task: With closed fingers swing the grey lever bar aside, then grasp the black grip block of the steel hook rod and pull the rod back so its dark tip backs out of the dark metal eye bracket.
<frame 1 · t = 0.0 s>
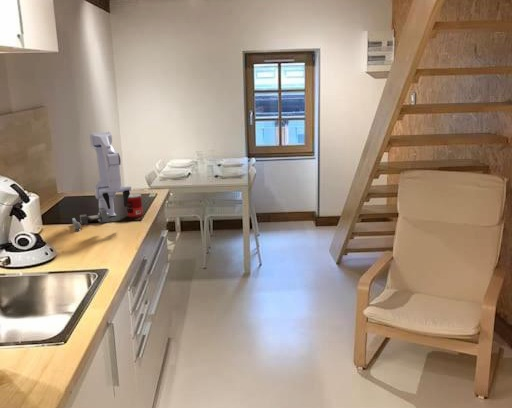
hand: (117, 207, 248), 10 cm above the worktop, fingers open, 7 cm apart
canned food: (135, 216, 272), on the worktop
eye bracket: (103, 221, 263), on the worktop
keeper base: (78, 230, 248), on the worktop
grey lever bar: (75, 223, 253), point 2 cm above the worktop, hinge at 0.0°
hook rod: (95, 217, 261), point 2 cm above the worktop, slide at 0.0 cm
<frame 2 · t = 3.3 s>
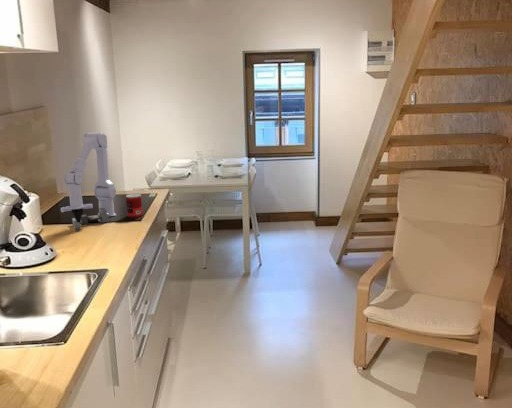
hand: (78, 224, 253), 1 cm above the worktop, fingers closed, pressing on grey lever bar
grey lever bar: (75, 223, 253), point 2 cm above the worktop, hinge at 0.3°, touching gripper
everything else where it was.
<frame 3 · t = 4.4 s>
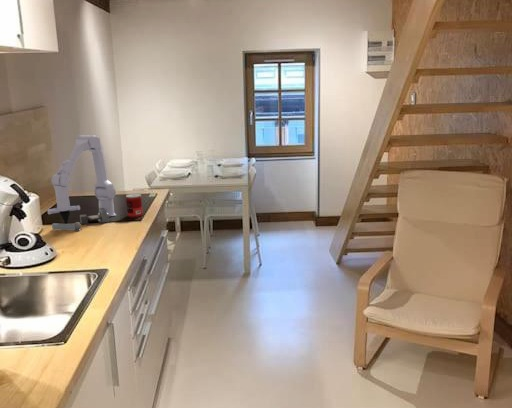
hand: (66, 226, 251), 1 cm above the worktop, fingers closed, pressing on grey lever bar
grey lever bar: (66, 226, 249), point 2 cm above the worktop, hinge at 55.7°, touching gripper
everything else where it was.
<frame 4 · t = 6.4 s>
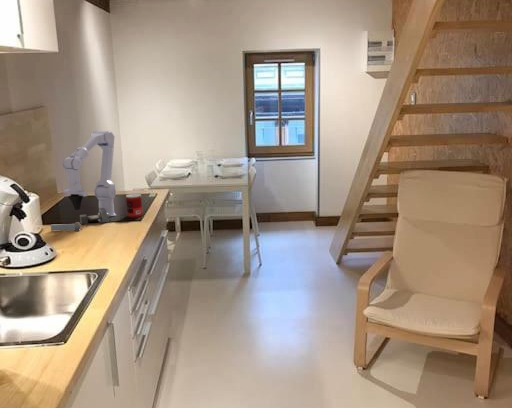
hand: (77, 209, 254), 8 cm above the worktop, fingers closed
grey lever bar: (65, 226, 248), point 2 cm above the worktop, hinge at 62.9°
everything else where it was.
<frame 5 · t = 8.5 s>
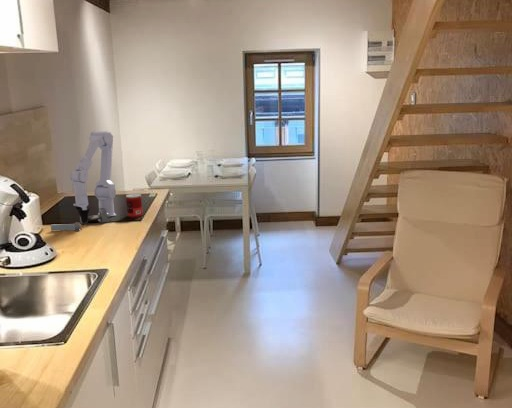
hand: (84, 221, 259), 1 cm above the worktop, fingers closed on hook rod, 4 cm apart
hook rod: (95, 217, 261), point 2 cm above the worktop, slide at 0.0 cm, touching gripper
everything else where it was.
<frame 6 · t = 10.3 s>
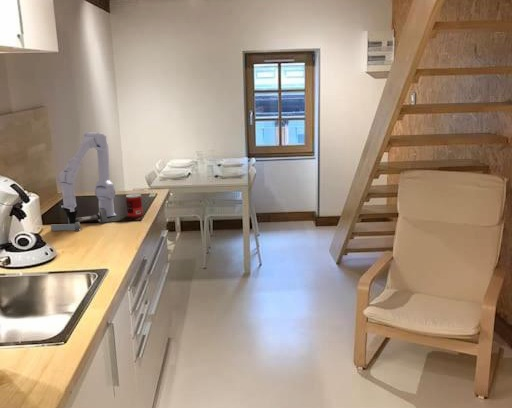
hand: (72, 223, 256), 1 cm above the worktop, fingers closed on hook rod, 4 cm apart
hook rod: (83, 219, 258), point 2 cm above the worktop, slide at 5.6 cm, touching gripper
everything else where it was.
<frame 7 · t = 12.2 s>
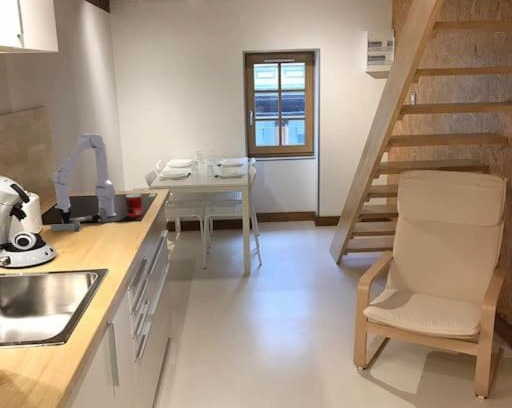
hand: (66, 223, 255), 2 cm above the worktop, fingers open, 4 cm apart
hook rod: (77, 220, 257), point 2 cm above the worktop, slide at 8.4 cm
everything else where it was.
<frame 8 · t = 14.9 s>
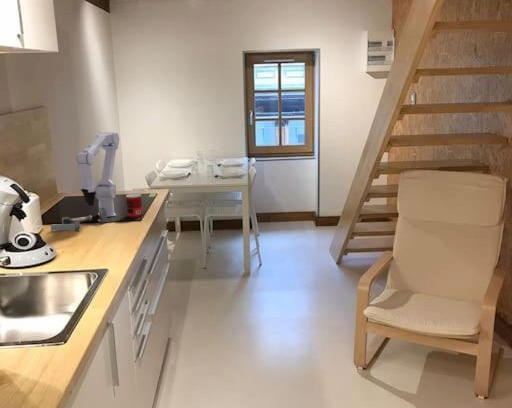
hand: (89, 204, 257), 10 cm above the worktop, fingers open, 7 cm apart
nothing on the worktop moved.
at the end: hook rod slide at 8.4 cm; grey lever bar at +63° (first picture: +0°); the gripper is holding nothing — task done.
